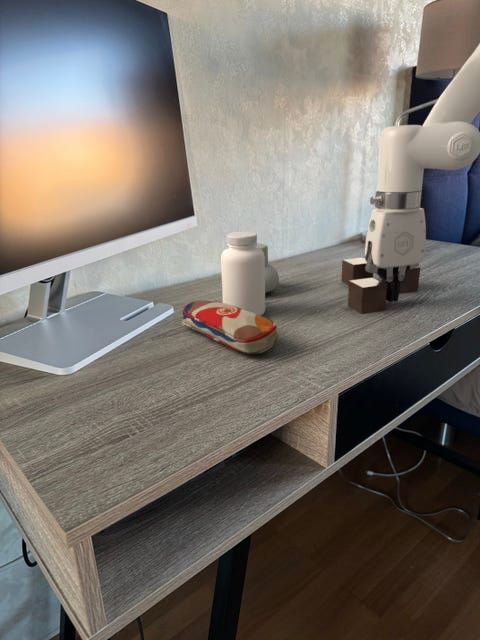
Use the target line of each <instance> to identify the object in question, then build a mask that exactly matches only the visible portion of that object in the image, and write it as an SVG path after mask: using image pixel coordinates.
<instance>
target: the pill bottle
mask: <svg viewBox="0 0 480 640" xmlns="http://www.w3.org/2000/svg"><path fill="white" fill-rule="evenodd" d="M226 242H227V247H228V248H226V249H224V250H223V251H222V252H221V255H220V268H221V269H220V270H221V272H220V273H221V292H222V295H221V296H222V303H225V304H229V305H232V306H235V307H239V308H241V309H244V310H246V311H249V312H252V313H255V314H257V315H261V316H264V315H265V314H264V313H265V311H266V293H265V256H264V253H263V251H262V250H261V249H259V248H257V247H256V245H257V243H258V234H257V233H256V232H253V231H233V232H229V233H227V235H226Z"/></svg>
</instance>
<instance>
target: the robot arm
mask: <svg viewBox="0 0 480 640" xmlns="http://www.w3.org/2000/svg"><path fill="white" fill-rule="evenodd" d="M479 113H480V43H479V44H478V45H477V46H476V48H475V49H474V51H473V52H472V54H471V55H470V56H469V57H468V58H467V60H466V61H465V63H464V64H463V65H462V66H461V68H460V70H459V71H458V72H457V73H456V74H455V76H453V79H452V80H451V81H450V82H449V84H448V85H447V86H446V88H445V89H444V90H443V92H442V93H441V94H440V96H439V98H438V99H437V100H436V101H435V103H434V105H433V107H432V108H431V110H430V112H429V113H428V115H427V117H426V119H425V120H424V122H423V124H422V125H420V124H405V125H404V124H403V125H391V126H388V127H385V128H384V129H383V130H382V131H381V133H380V136H379V144H378V145H379V147H378V164H377V177H376V192H375V196H371V197H370V199H369V203H370V205H372V206H373V205H374V209H372V211H371V213H370V218H369V221H368V226H367V230H366V237H365V245H364V259H365V261H366V262H367V264H366V268H365V270H366V271H367V272H369V273H373V274H376V275H377V276H378V277H379V279H381V282H382V283H385V284H387V291H386V302H388V303H393V302H398V301H399V297H400V296H399V295H400V293H399V292H400V281H402V280H403V279H404V276H405V274H406V273H407V272H408V271H409V270H411V269H413V268H416V267H420V264H421V263H423V261H424V260H425V256H426V255H425V254H426V243H427V242H426V241H427V225H426V224H427V223H426V215H425V208H423V207H421V202H422V201H421V200H422V190H423V181H424V171H425V169H433V170H442V171H443V170H444V171H456V170H457V171H458V170H461V169H463V168H466V167H467V166H469V165H471V164H472V163H473V162H474V161H475V160H476V159H477V158H478V157H479V155H480V130H479V129H478V127H476V126H475V125H473V124H471V123H472V122H473V121H474V119H475V118H476V117H477V116H478V115H479Z"/></svg>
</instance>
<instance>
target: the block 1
mask: <svg viewBox="0 0 480 640" xmlns="http://www.w3.org/2000/svg"><path fill="white" fill-rule="evenodd" d="M366 264H367V262H366V261H365V257H355V258H346V259H342V261H341V279H340V280H341V282H342V283H344V284H346V285H348V286H349V281H351V280H358V279H366V278H374V273H369V272H367V271H366V270H365V268H366Z"/></svg>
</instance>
